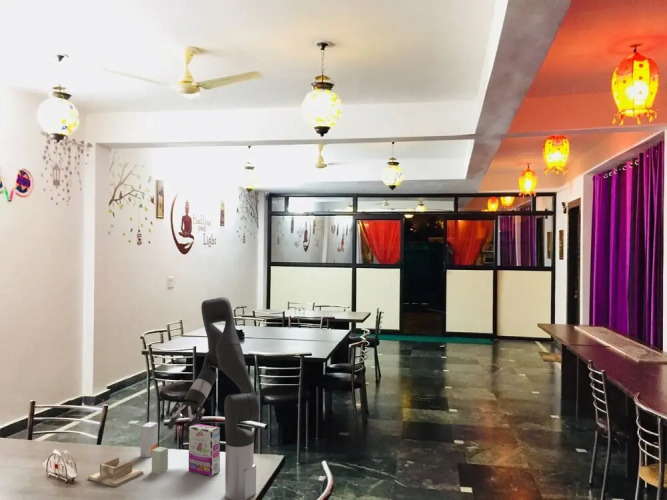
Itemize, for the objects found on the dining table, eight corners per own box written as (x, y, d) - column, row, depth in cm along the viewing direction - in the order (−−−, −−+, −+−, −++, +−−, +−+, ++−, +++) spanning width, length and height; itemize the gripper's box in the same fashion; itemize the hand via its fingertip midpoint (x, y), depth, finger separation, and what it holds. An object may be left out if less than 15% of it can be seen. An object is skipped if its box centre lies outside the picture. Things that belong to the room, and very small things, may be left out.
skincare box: (149, 457, 205) (150, 427, 206) (140, 456, 206) (140, 426, 206) (158, 452, 211) (158, 422, 212) (148, 451, 212) (148, 421, 212)
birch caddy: (143, 474, 190) (143, 460, 190) (115, 487, 179) (115, 472, 179) (116, 467, 196) (116, 453, 196) (88, 479, 185) (88, 464, 185)
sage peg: (167, 470, 193) (167, 448, 194) (159, 474, 190) (159, 451, 190) (159, 468, 195) (159, 446, 195) (151, 471, 192) (151, 450, 192)
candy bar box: (220, 472, 192) (220, 427, 192) (211, 477, 187) (211, 431, 187) (197, 466, 197) (197, 422, 197) (187, 471, 192) (188, 426, 193)
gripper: (180, 386, 212) (158, 422, 202) (207, 390, 205) (186, 427, 195) (189, 396, 217) (168, 432, 206) (216, 400, 210) (196, 437, 200)
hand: (177, 430), depth 201 cm, fingers open, 8 cm apart
